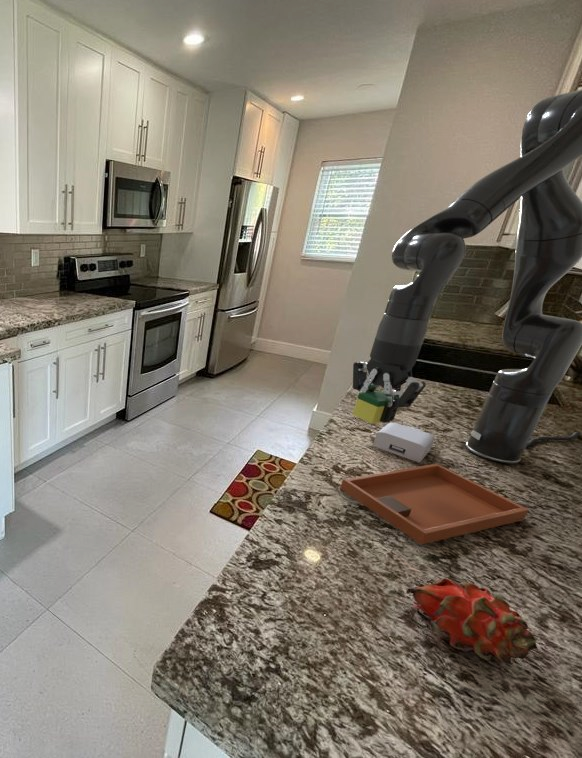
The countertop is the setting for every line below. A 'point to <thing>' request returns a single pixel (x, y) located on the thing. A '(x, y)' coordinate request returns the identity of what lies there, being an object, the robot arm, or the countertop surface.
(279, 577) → the countertop surface
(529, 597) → the countertop surface
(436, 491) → the pan
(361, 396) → the sponge
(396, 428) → the charger
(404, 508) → the block
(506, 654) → the dragon fruit
